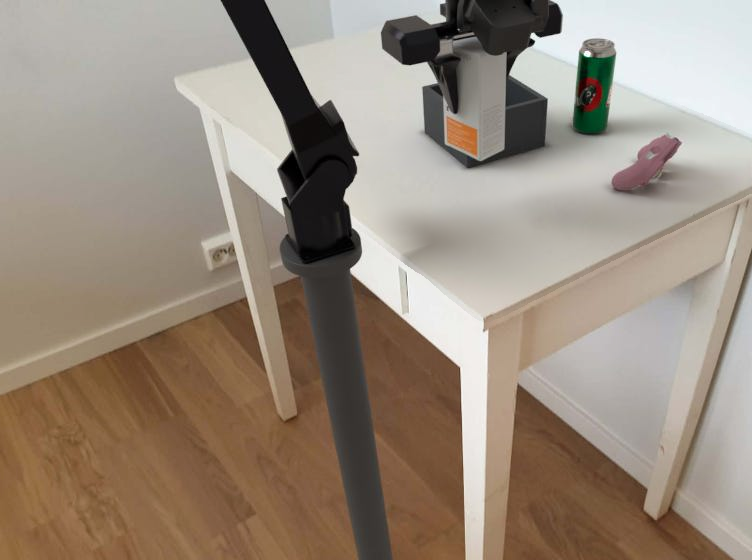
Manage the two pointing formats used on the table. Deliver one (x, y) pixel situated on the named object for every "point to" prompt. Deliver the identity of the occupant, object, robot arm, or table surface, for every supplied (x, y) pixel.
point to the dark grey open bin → (520, 121)
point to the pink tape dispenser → (647, 163)
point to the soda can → (594, 85)
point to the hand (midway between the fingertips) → (474, 107)
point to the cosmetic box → (477, 102)
